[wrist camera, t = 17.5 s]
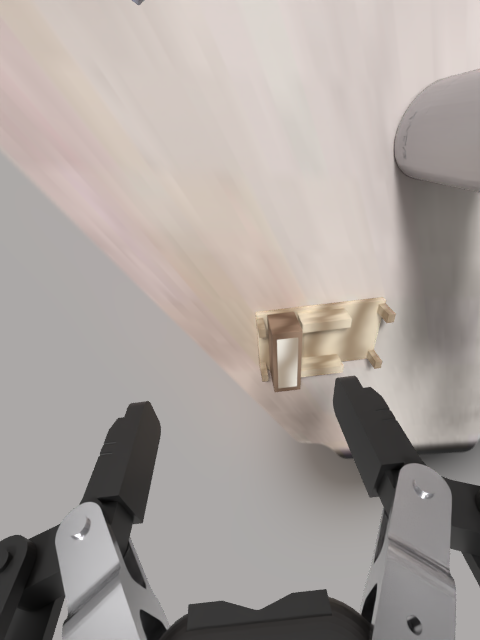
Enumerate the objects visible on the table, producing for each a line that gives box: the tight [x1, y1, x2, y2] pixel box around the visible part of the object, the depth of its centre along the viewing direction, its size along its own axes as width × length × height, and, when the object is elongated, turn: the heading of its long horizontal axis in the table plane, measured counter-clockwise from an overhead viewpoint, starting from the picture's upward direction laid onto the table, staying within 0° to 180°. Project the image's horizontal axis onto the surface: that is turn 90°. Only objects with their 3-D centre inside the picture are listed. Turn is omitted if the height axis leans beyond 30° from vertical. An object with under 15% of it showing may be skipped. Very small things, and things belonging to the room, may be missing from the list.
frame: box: [267, 312, 303, 392], centre depth 42 cm, size 4×12×5 cm, turn 6°
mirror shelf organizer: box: [256, 297, 396, 382], centre depth 43 cm, size 20×12×4 cm, turn 95°
